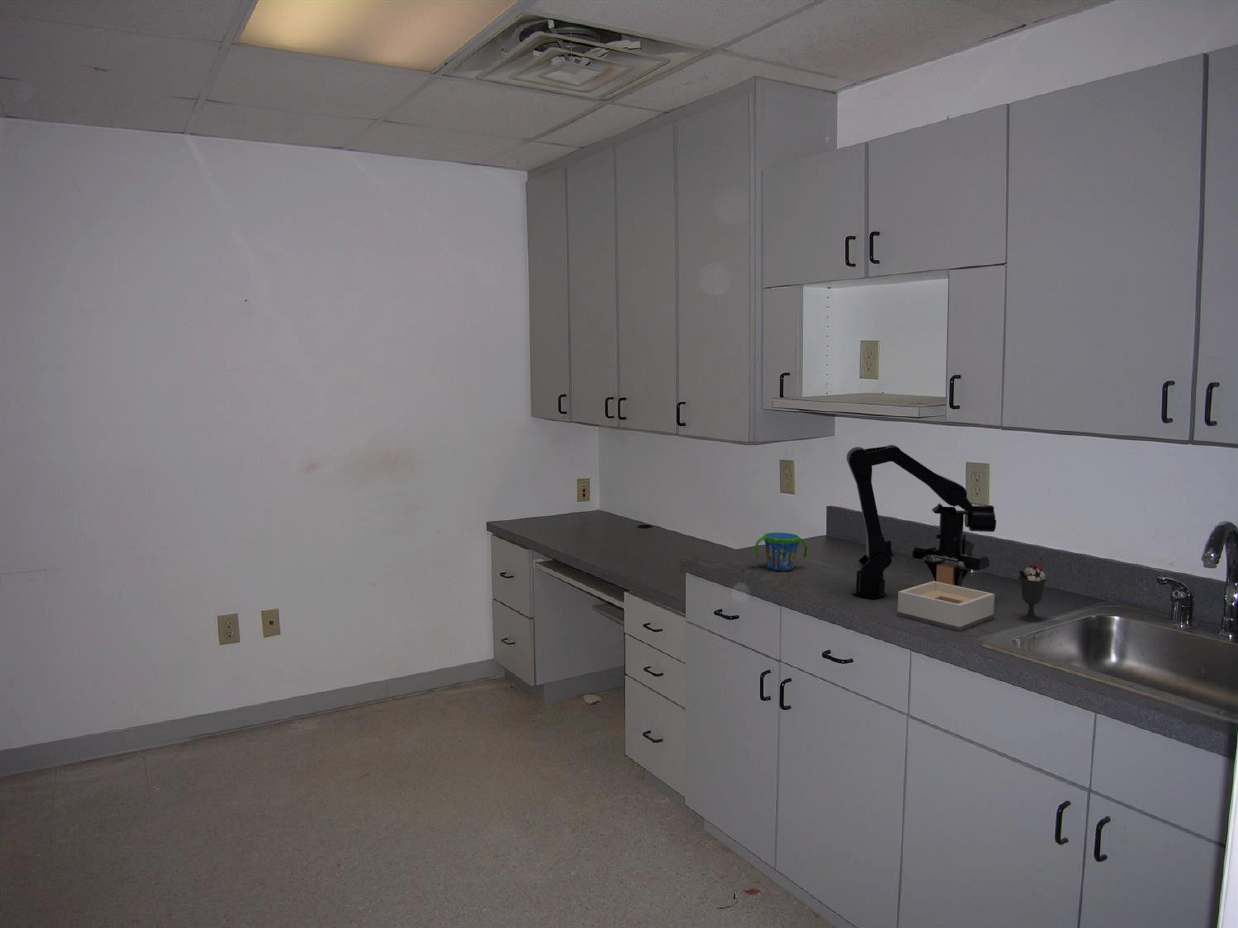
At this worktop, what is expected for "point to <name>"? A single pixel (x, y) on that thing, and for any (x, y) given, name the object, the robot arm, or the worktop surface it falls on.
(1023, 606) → the worktop surface
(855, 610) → the worktop surface
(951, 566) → the peg
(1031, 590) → the sundae
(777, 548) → the snack cup
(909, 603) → the socket box
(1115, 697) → the worktop surface
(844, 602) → the worktop surface
